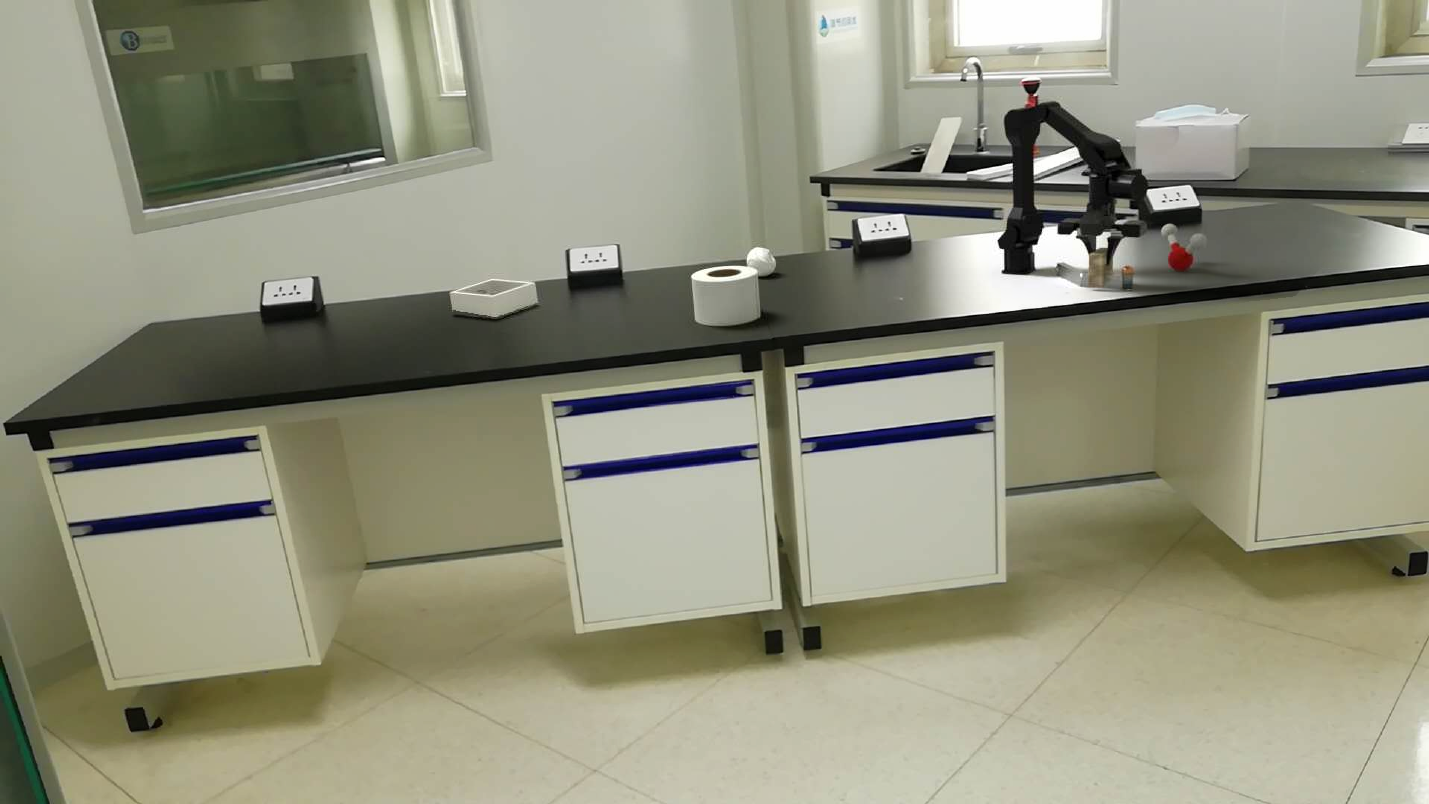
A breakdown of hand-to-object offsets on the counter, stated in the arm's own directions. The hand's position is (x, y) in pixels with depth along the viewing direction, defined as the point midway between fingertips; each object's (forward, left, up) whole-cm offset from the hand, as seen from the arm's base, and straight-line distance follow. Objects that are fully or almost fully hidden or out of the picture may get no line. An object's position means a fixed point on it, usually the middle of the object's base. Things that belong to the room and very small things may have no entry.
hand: (1100, 264), depth 266 cm
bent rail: (-3, +4, -5) cm, 8 cm away
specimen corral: (-136, -62, -5) cm, 150 cm away
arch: (0, 0, -4) cm, 4 cm away
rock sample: (-135, -64, -6) cm, 150 cm away
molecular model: (+12, +20, -5) cm, 24 cm away
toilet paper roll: (-71, -49, -6) cm, 86 cm away
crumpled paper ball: (-87, -11, -5) cm, 88 cm away
